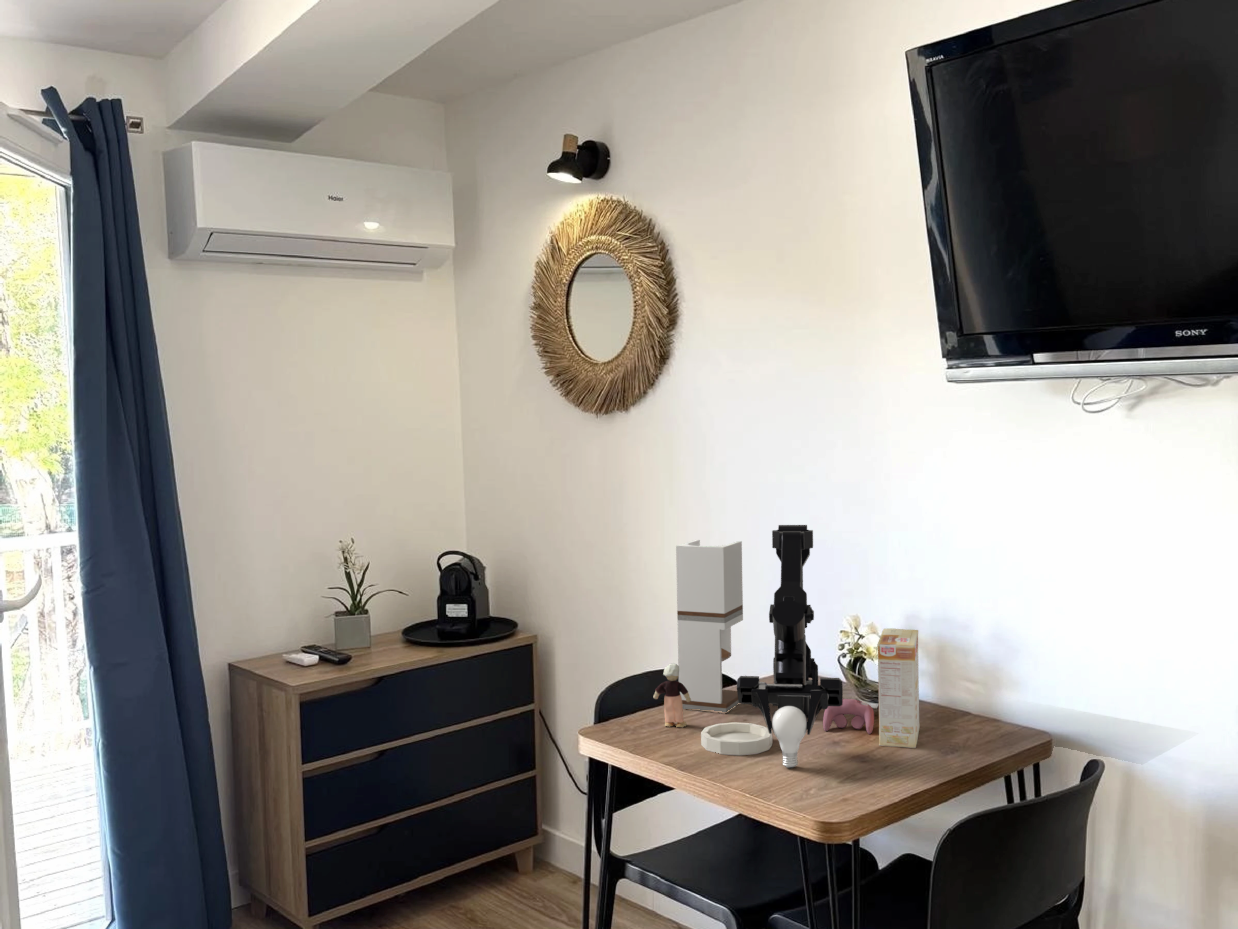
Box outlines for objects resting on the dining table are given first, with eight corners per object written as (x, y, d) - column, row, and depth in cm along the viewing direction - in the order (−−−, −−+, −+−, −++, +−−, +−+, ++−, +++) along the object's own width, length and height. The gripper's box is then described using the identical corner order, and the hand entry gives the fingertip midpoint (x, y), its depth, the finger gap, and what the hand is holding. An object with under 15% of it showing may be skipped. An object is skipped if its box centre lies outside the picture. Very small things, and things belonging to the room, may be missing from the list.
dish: (733, 730, 223) (733, 718, 223) (785, 744, 213) (785, 731, 213) (688, 745, 214) (688, 732, 214) (740, 759, 205) (739, 746, 204)
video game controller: (874, 738, 222) (875, 702, 224) (872, 733, 218) (873, 697, 220) (824, 734, 225) (826, 699, 227) (821, 730, 221) (823, 694, 223)
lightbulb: (768, 763, 202) (767, 702, 202) (803, 761, 203) (802, 701, 202) (776, 774, 196) (775, 712, 195) (812, 772, 196) (811, 710, 196)
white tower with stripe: (726, 714, 235) (723, 547, 234) (679, 709, 240) (676, 545, 238) (744, 700, 246) (741, 541, 244) (698, 696, 250) (696, 539, 249)
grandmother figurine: (692, 723, 229) (690, 661, 229) (691, 728, 225) (690, 665, 225) (654, 722, 230) (653, 661, 229) (653, 728, 226) (651, 665, 226)
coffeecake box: (883, 724, 225) (882, 627, 224) (920, 726, 223) (919, 629, 222) (877, 746, 211) (876, 643, 210) (916, 748, 209) (915, 644, 208)
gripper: (841, 681, 212) (843, 757, 202) (742, 679, 215) (738, 753, 205) (841, 648, 204) (843, 726, 194) (738, 647, 207) (734, 723, 197)
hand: (789, 733), depth 198 cm, fingers closed on lightbulb, 6 cm apart
